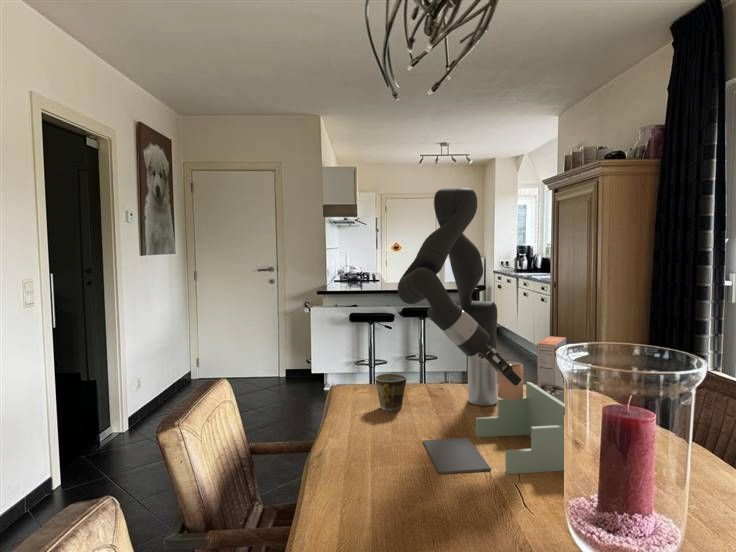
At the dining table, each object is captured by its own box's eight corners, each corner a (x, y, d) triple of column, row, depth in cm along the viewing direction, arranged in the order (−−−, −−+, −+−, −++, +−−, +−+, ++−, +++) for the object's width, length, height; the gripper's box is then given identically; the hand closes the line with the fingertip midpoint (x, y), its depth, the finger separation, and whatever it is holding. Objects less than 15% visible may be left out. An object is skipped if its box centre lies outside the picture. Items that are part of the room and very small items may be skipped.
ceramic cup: (380, 402, 159) (379, 372, 159) (409, 404, 157) (409, 374, 156) (369, 415, 147) (369, 383, 146) (401, 417, 144) (401, 385, 144)
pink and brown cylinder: (494, 393, 120) (493, 361, 120) (517, 392, 121) (517, 360, 120) (502, 400, 114) (502, 367, 114) (527, 399, 115) (527, 366, 114)
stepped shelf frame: (476, 435, 129) (475, 384, 128) (530, 432, 130) (530, 381, 129) (507, 474, 107) (507, 412, 106) (572, 469, 108) (572, 408, 107)
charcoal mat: (422, 442, 125) (422, 440, 125) (467, 439, 126) (467, 437, 126) (439, 473, 107) (439, 471, 107) (491, 470, 108) (491, 468, 108)
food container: (571, 431, 130) (571, 395, 130) (547, 430, 131) (547, 394, 131) (562, 416, 142) (562, 383, 142) (540, 415, 143) (540, 382, 143)
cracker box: (548, 397, 161) (548, 335, 160) (567, 400, 157) (567, 337, 156) (536, 408, 149) (535, 342, 148) (556, 412, 146) (556, 344, 145)
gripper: (485, 325, 109) (536, 375, 110) (467, 317, 123) (512, 361, 124) (463, 349, 108) (514, 399, 110) (447, 338, 123) (492, 382, 124)
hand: (512, 378), depth 117 cm, fingers closed on pink and brown cylinder, 6 cm apart
